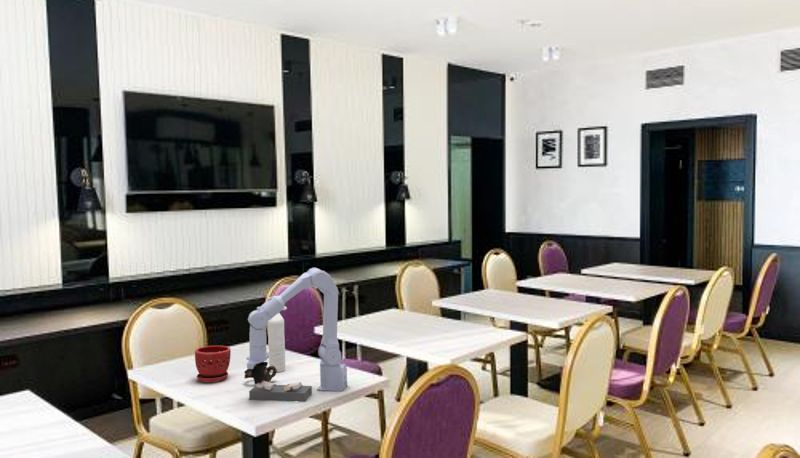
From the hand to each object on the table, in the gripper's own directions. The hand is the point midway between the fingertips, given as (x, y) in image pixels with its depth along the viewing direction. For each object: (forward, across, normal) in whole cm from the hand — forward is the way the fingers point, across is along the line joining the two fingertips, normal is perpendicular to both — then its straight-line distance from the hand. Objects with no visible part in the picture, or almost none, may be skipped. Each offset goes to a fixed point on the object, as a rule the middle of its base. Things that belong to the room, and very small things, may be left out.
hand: (258, 383), depth 218 cm
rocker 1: (0, 0, +3) cm, 3 cm away
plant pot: (+6, -18, -26) cm, 32 cm away
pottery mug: (+5, -16, -6) cm, 18 cm away
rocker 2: (0, 0, +13) cm, 13 cm away
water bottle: (+5, -34, -5) cm, 34 cm away
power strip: (+5, -2, +8) cm, 9 cm away
